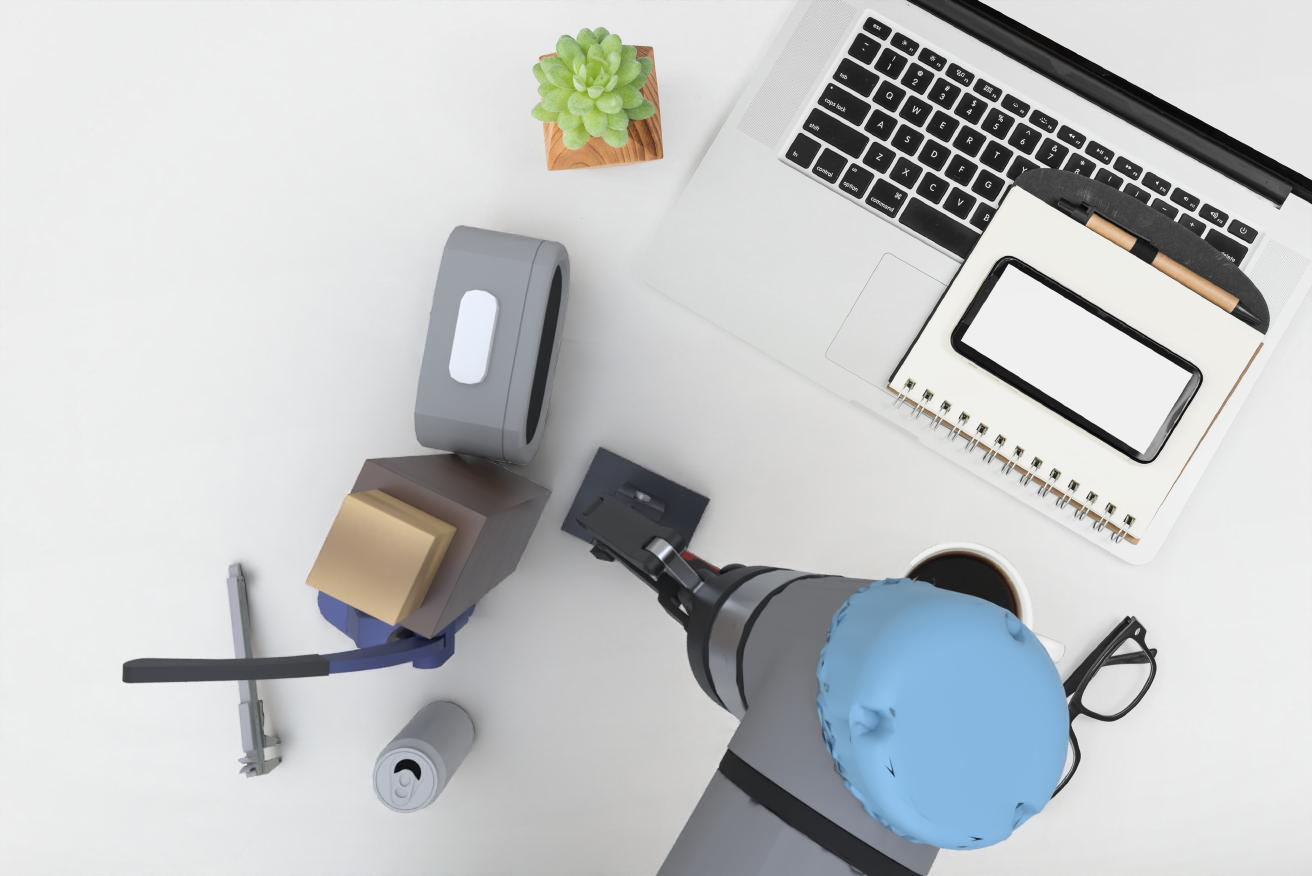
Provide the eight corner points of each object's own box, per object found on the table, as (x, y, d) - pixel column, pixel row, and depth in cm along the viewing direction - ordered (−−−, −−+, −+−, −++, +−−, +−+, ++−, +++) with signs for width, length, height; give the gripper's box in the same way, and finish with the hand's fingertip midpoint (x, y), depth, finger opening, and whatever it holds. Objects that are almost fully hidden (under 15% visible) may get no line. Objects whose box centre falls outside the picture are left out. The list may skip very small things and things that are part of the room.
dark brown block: (514, 571, 83) (430, 639, 55) (433, 532, 83) (308, 581, 55) (552, 490, 83) (488, 517, 55) (471, 451, 83) (366, 458, 55)
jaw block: (419, 609, 55) (393, 626, 50) (338, 570, 55) (304, 583, 50) (457, 527, 55) (435, 536, 50) (376, 488, 55) (346, 493, 50)
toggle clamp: (709, 498, 82) (715, 510, 68) (670, 580, 82) (669, 608, 68) (600, 446, 82) (585, 448, 69) (562, 528, 83) (538, 546, 69)
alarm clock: (540, 464, 83) (513, 469, 69) (447, 446, 83) (402, 448, 69) (576, 261, 82) (557, 226, 69) (483, 244, 83) (445, 207, 69)
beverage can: (483, 709, 83) (450, 755, 71) (466, 770, 83) (430, 827, 71) (422, 691, 83) (379, 734, 71) (405, 753, 83) (359, 806, 71)
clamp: (491, 557, 83) (396, 619, 55) (489, 645, 83) (392, 751, 55) (305, 551, 83) (117, 609, 55) (303, 637, 83) (113, 739, 55)
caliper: (285, 760, 83) (253, 786, 77) (274, 762, 83) (242, 789, 77) (240, 562, 83) (205, 572, 77) (230, 564, 83) (194, 575, 77)
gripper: (1005, 769, 41) (823, 689, 61) (653, 402, 39) (588, 447, 59) (911, 895, 39) (757, 769, 59) (537, 516, 37) (511, 522, 57)
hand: (672, 608), depth 59 cm, fingers open, 13 cm apart
